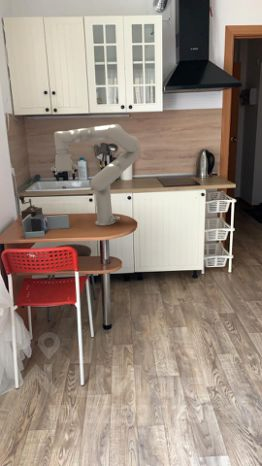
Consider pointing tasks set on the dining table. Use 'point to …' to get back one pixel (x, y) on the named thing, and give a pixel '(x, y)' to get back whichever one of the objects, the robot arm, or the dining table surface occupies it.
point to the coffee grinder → (30, 209)
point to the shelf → (53, 223)
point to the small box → (39, 223)
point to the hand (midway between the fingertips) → (66, 180)
